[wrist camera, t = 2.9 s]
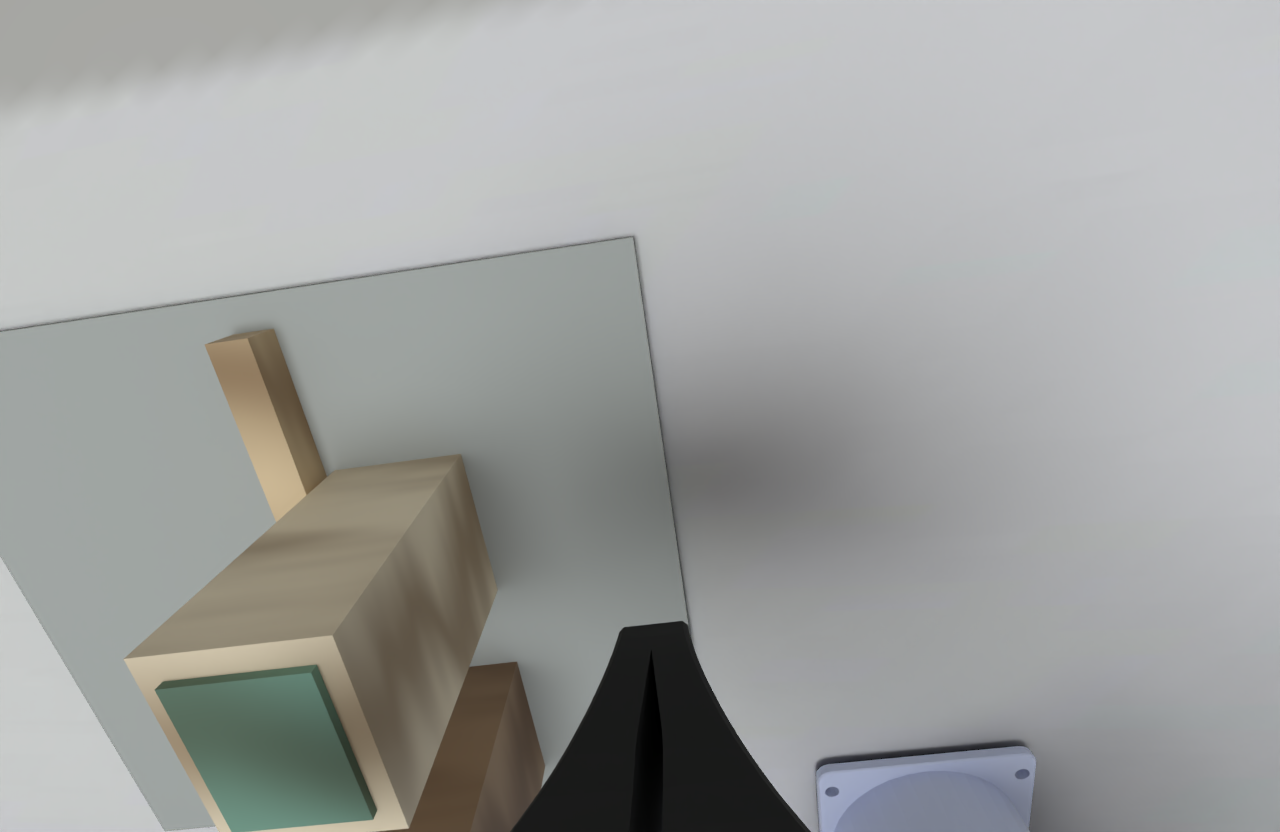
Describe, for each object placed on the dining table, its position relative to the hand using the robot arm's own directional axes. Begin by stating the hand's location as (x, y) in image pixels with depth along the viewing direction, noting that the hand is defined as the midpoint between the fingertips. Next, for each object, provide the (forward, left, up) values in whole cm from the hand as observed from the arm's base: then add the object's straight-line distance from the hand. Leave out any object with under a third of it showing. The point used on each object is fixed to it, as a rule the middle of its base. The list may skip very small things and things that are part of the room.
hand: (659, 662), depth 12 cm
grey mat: (-2, +10, -7) cm, 13 cm away
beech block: (0, +8, -7) cm, 10 cm away
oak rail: (-2, +10, -7) cm, 13 cm away
